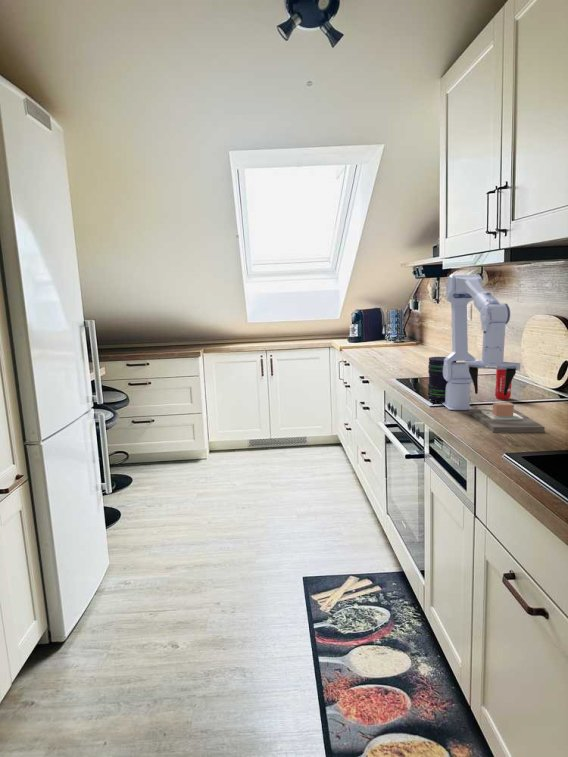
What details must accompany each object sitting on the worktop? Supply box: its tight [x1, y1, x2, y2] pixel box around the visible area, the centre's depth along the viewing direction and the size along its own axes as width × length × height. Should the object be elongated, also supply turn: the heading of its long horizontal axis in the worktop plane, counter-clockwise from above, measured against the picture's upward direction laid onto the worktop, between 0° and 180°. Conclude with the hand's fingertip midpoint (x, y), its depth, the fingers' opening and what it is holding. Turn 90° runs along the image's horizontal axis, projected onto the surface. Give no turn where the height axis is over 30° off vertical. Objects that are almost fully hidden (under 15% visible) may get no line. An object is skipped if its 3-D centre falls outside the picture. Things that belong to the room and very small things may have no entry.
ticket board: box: [468, 407, 545, 433], centre depth 154 cm, size 22×14×2 cm, turn 178°
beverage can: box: [494, 369, 513, 401], centre depth 186 cm, size 5×5×12 cm
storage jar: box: [427, 356, 457, 403], centre depth 186 cm, size 10×10×15 cm
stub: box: [485, 402, 523, 420], centre depth 154 cm, size 6×9×4 cm, turn 88°
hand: (490, 393), depth 148 cm, fingers open, 7 cm apart
